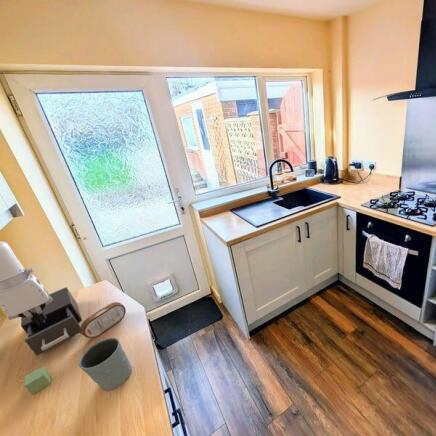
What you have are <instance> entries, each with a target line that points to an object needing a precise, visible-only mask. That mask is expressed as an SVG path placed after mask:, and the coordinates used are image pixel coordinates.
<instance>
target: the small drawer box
mask: <svg viewBox="0 0 436 436" xmlns="http://www.w3.org/2000/svg"><path fill="white" fill-rule="evenodd" d="M48 294H49V296H50V297H51V298H53V301H52V302H51V303H49V304H47V305H46V306H45V307H44V309H43V311H42V312H43V313H44V315H45V316H48V315H50V314H52V313H54V312H57V311H59V310H61V309H63V308H65V307H67V306H70V307H71V309H72V310H73V312H74V313H75V316H76V319H77V323H80V322H81V321H82V316H81V312H80V309H79V306H78V303H77V301H76V300H75V298H74V296H73V295H72V293H71V292H70V290H69V289H68V287H67V286H66V287H63V288H60V289H59V290H56V291H54V292H51V293H48ZM30 310H31V311H32V312H36V309H35V307H34V308H32V309H30ZM31 323H33V322H32V320H31V319H30V318H27V317H20V327H21V328H22V330H23V331H24V332H25V333H26V334H27V335H28V325H29V324H31Z"/></svg>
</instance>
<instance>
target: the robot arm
mask: <svg viewBox="0 0 436 436" xmlns="http://www.w3.org/2000/svg"><path fill="white" fill-rule="evenodd" d="M34 272H35V271H34V268H25V267H24V266H23V264H22V263H21V261H20V260H19V258H18V257H17V255H16V254H15V253H14V251H13V249H12V248H11V246H10V245H9V244H8V243H7V242H5V241H0V308H1V309H2V311H3V312H4V314H5V315H6V316H7V318H8V320H15V319H18V318H21V317H27V318H30V319H31V320H32V322H33V323H34V324H36V323H37V324H38V326H40V325H41V323H42V324H44V323H45V319H46V316H45V315H44V313H43V312H42V311H43V309H44V307H45V306H46V305H47V304H49V303H51V302H52V301H53V298H51V297H50V296H49V294H50V293H49V292H48V290H47V288H45V286H44V285H43V284H42V282H41V281H40V279H38V278H37V277H36V276H35V275H34V274H33V273H34ZM34 307H35V309H36V312H32V311H31V310H30V309H32V308H34Z"/></svg>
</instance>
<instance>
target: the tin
mask: <svg viewBox="0 0 436 436" xmlns="http://www.w3.org/2000/svg"><path fill="white" fill-rule="evenodd" d="M126 312H127V309H126V307H125V306H124V304H122V302H119V301H118V302H117V301H115V302H111V303H109V304H107V305H106V306H104V307H102V308H101V309H99V310H97V311H96V312H94V313H93V314H91V315H90V316H88V317H86V318H85V319H84V320H83V322H82V323H81V325H80V333H79V334H81V336H84V337H85V338H87V339H93V338H97V337H100V336H101V335H102V334H103V333H105V332H107V331H108V330H109V329H111V328H112V327H113V326H115V325H116V324H117V323H119V322H121V321H122V320H123V318H125V315H126Z"/></svg>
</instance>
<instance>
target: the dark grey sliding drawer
mask: <svg viewBox="0 0 436 436" xmlns="http://www.w3.org/2000/svg"><path fill="white" fill-rule="evenodd" d="M80 327H81V325H80V324H79V322H77V319H76V316H75V313H74V312H73V310H72V309H71V307H70V306H67V307H65V308H63V309H61V310H59V311H57V312H54V313H52V314H50V315H48V316H46V319H45V323H44V324H42V323H41V325H40V326H38V324H37V323H36V324H34V323H31V324H29V325H28V334H27V337H26V338H24V343H26V345H27V346H28V347H29V348H30V350H31V351H32V352H33V353H34V355H35V356H36V357H38V356H40V355H42V354H43V353H46V352H47V351H49V350H51V349H53V348H54V347H57V346H58V345H60V344H62V343H64V342H66V341H68V340H70V339H71V338H73V337H75V336H77V335H79V334H81V333H80Z"/></svg>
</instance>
